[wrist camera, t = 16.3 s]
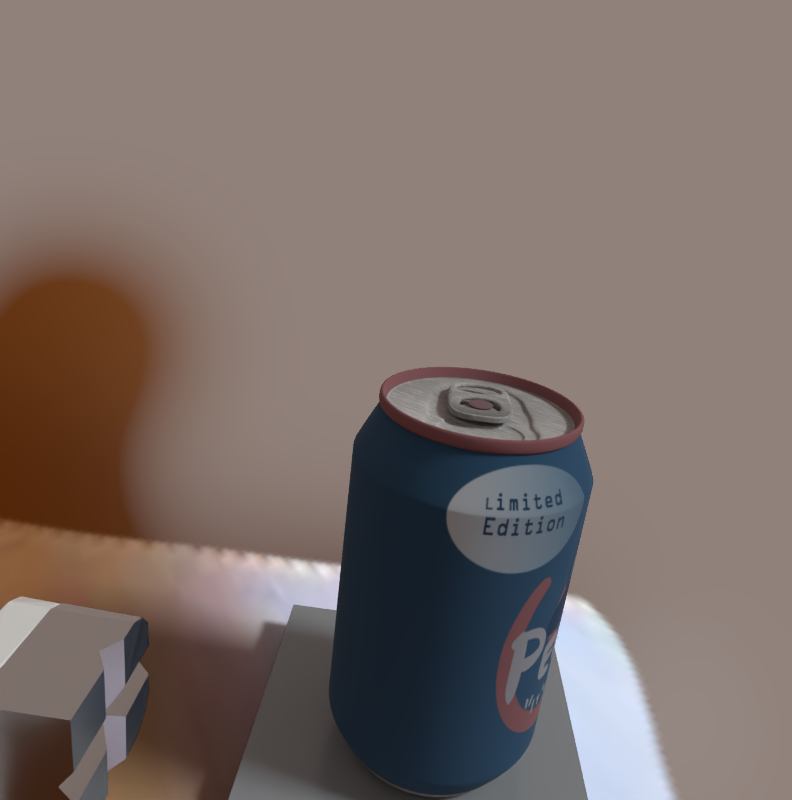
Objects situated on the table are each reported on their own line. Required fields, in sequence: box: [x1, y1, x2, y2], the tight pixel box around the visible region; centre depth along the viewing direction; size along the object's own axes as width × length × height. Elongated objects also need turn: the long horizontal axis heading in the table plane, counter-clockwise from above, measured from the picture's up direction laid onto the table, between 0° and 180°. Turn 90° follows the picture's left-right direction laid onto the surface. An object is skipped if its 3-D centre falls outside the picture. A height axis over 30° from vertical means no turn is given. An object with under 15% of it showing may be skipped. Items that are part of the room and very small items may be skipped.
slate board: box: [228, 605, 588, 800], centre depth 24 cm, size 11×11×1 cm
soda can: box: [329, 367, 593, 797], centre depth 21 cm, size 7×7×12 cm
